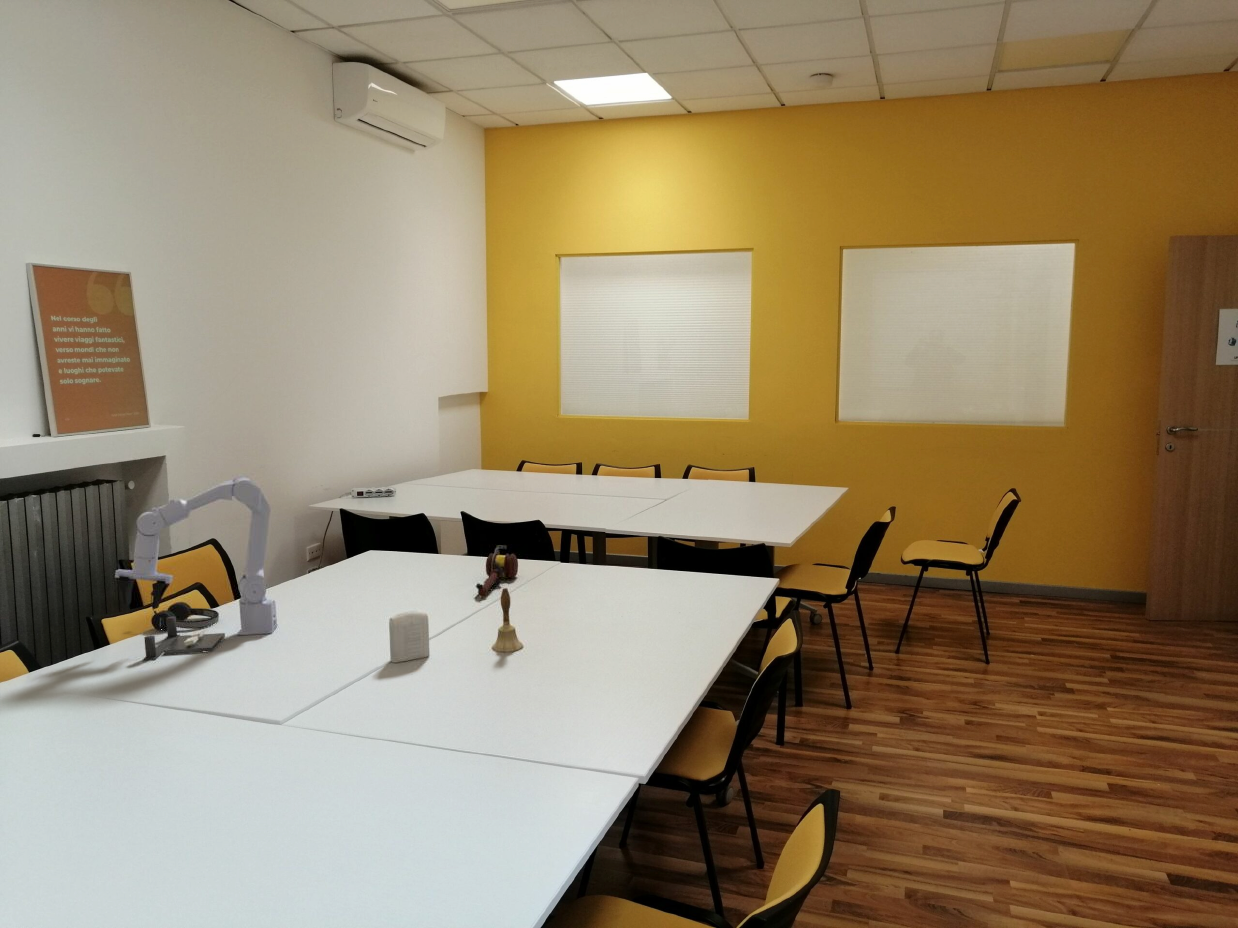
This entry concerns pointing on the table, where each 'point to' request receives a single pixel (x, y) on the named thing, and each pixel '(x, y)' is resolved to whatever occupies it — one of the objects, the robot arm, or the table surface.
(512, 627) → the hand bell
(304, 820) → the table surface
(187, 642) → the paddle
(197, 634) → the paddle
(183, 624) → the headset
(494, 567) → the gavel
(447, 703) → the table surface
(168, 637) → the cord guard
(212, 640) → the switch panel
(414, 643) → the engraved stone tablet
